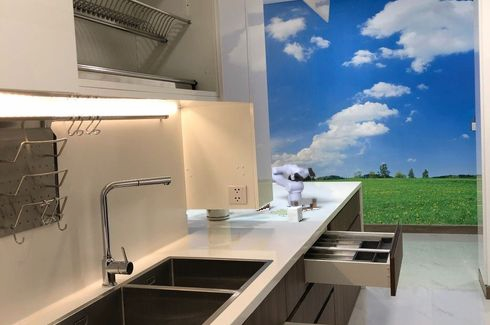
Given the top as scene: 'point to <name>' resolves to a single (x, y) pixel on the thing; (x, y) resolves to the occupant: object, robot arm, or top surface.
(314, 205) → the stand
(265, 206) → the food container
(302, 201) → the rail
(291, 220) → the product box
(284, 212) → the mat
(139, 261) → the top surface
